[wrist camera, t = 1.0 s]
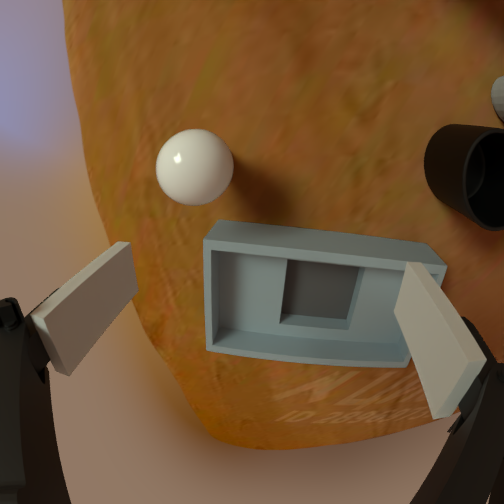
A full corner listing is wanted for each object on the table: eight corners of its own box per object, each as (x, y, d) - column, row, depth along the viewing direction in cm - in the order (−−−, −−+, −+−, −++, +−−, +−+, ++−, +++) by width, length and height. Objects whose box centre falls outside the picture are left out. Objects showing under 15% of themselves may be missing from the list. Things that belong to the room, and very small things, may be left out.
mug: (495, 209, 27) (537, 235, 19) (418, 201, 29) (455, 228, 21) (502, 136, 24) (549, 145, 15) (423, 117, 25) (465, 118, 17)
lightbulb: (181, 140, 30) (130, 149, 20) (236, 119, 29) (205, 116, 19) (201, 193, 32) (160, 225, 22) (255, 175, 31) (236, 201, 21)
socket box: (218, 219, 33) (203, 239, 28) (426, 243, 31) (447, 266, 25) (217, 320, 39) (206, 350, 34) (395, 337, 37) (406, 367, 31)
